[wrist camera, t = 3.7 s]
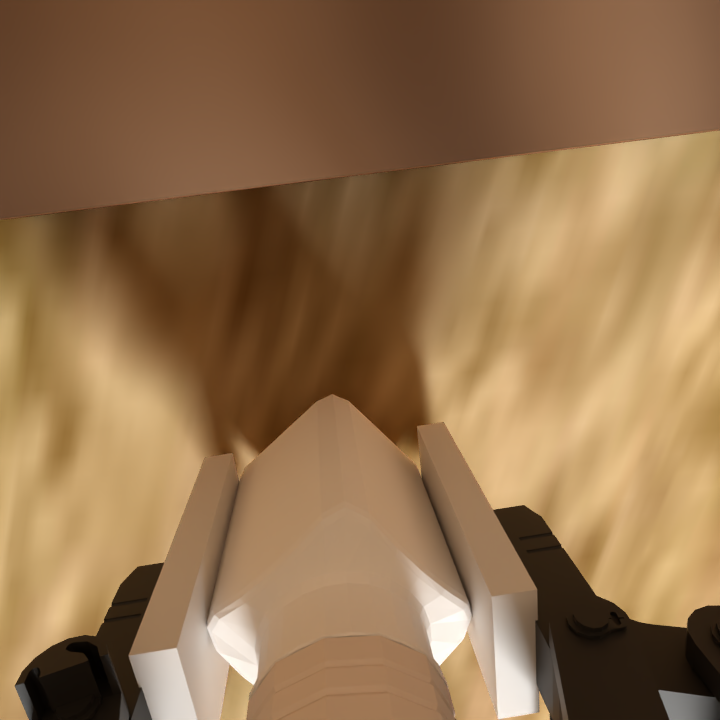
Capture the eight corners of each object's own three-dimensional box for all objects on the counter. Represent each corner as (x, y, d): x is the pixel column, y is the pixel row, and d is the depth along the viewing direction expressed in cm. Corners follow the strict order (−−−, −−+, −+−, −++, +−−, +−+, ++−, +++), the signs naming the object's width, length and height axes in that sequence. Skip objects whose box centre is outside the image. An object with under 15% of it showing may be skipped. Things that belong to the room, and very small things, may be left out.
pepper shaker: (329, 550, 17) (353, 974, 8) (232, 470, 16) (130, 859, 7) (425, 467, 16) (572, 822, 7) (332, 378, 15) (366, 668, 6)
